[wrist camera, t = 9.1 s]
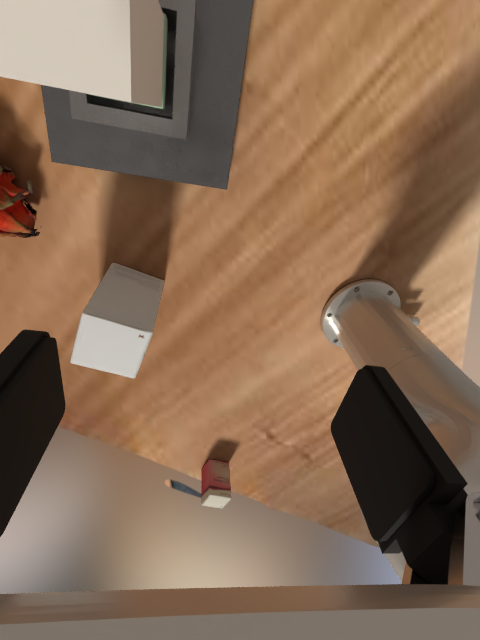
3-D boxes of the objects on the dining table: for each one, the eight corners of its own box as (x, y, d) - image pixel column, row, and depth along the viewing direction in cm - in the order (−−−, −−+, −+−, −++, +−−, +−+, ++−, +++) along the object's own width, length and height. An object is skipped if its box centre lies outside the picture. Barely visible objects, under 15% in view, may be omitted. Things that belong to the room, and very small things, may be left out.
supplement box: (111, 260, 41) (81, 310, 30) (166, 280, 43) (155, 333, 33) (98, 304, 44) (67, 364, 34) (149, 321, 47) (135, 381, 36)
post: (169, 24, 23) (131, -85, 10) (166, 109, 25) (134, 105, 13) (92, 5, 22) (-52, -141, 9) (98, 95, 24) (-7, 77, 12)
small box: (229, 462, 69) (232, 498, 63) (221, 472, 71) (223, 509, 64) (208, 458, 67) (209, 495, 61) (200, 469, 69) (200, 506, 63)
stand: (253, -30, 28) (276, -91, 19) (225, 184, 37) (232, 204, 29) (31, -95, 24) (-55, -201, 16) (62, 158, 34) (18, 172, 26)
